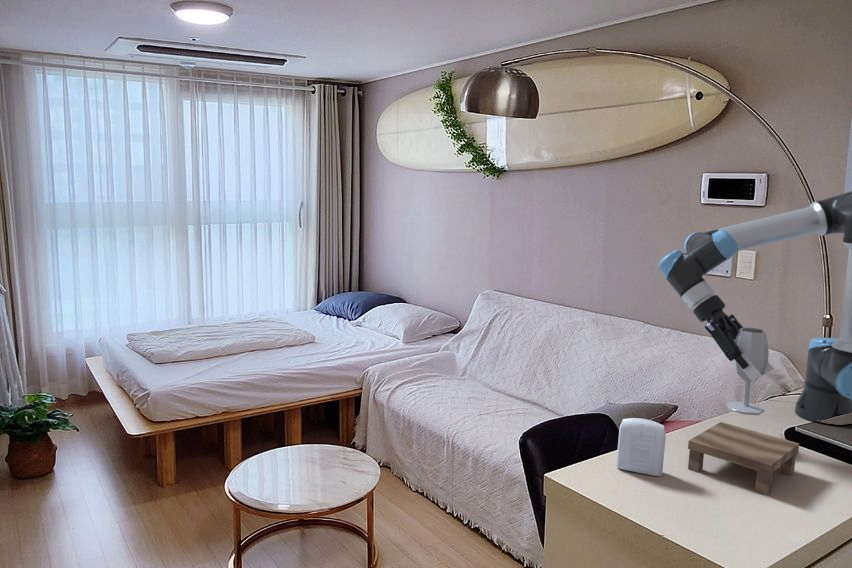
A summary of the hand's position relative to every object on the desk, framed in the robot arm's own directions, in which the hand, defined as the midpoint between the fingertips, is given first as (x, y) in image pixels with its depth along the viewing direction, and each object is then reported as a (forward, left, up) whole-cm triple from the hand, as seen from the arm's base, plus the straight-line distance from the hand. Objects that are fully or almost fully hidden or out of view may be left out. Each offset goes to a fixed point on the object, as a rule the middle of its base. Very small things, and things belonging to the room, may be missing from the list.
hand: (763, 374), depth 167 cm
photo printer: (+36, -13, -19) cm, 42 cm away
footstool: (+18, +3, -19) cm, 26 cm away
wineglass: (0, -3, -10) cm, 11 cm away
